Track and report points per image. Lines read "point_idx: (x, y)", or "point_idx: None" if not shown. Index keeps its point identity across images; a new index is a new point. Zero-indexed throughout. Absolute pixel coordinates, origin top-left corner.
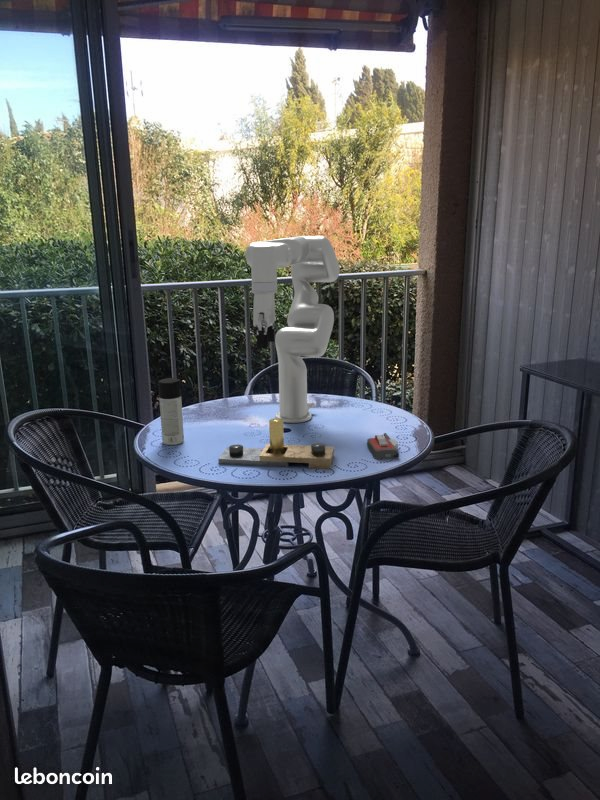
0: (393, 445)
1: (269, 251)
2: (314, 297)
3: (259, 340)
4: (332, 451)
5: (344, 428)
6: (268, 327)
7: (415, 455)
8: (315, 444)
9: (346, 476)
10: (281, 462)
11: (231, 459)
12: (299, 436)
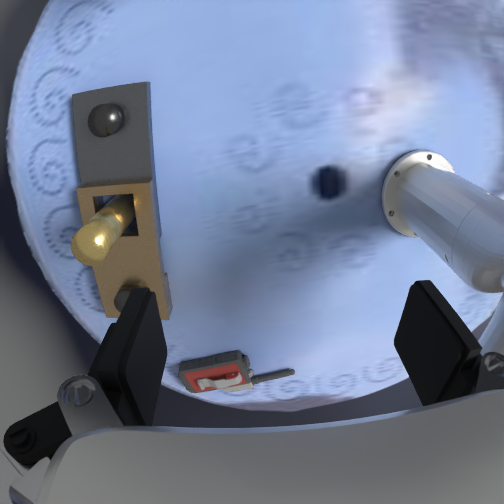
0: (221, 388)
1: None
2: None
3: (101, 350)
4: None
5: (343, 306)
6: (457, 396)
7: (210, 400)
8: None
9: (96, 327)
10: None
11: (74, 123)
12: (285, 226)
